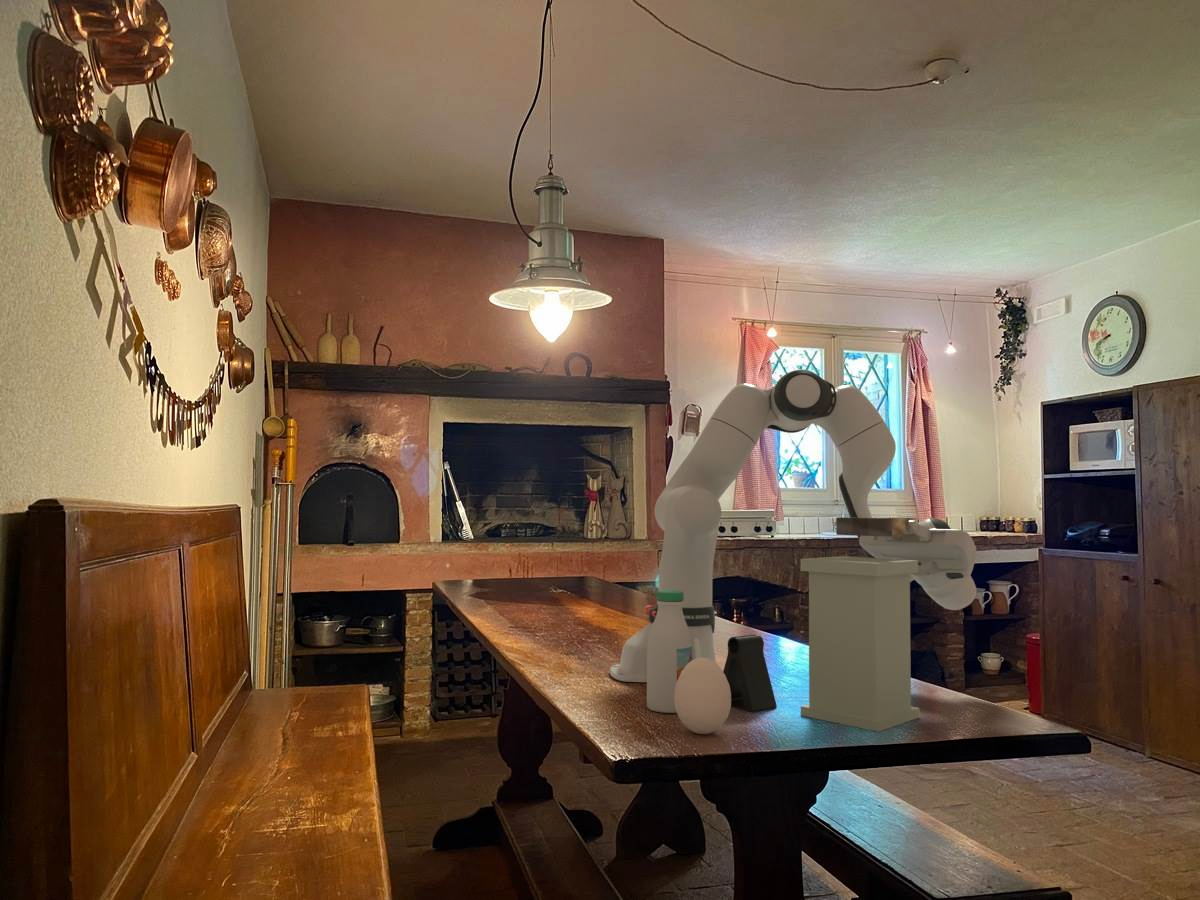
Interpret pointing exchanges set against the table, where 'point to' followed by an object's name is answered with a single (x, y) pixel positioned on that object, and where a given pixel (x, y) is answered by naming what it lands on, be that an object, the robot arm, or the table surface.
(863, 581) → the pedestal stand
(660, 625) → the milk bottle
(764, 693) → the phone stand
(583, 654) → the table surface
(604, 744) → the table surface
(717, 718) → the egg
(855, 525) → the tan block
